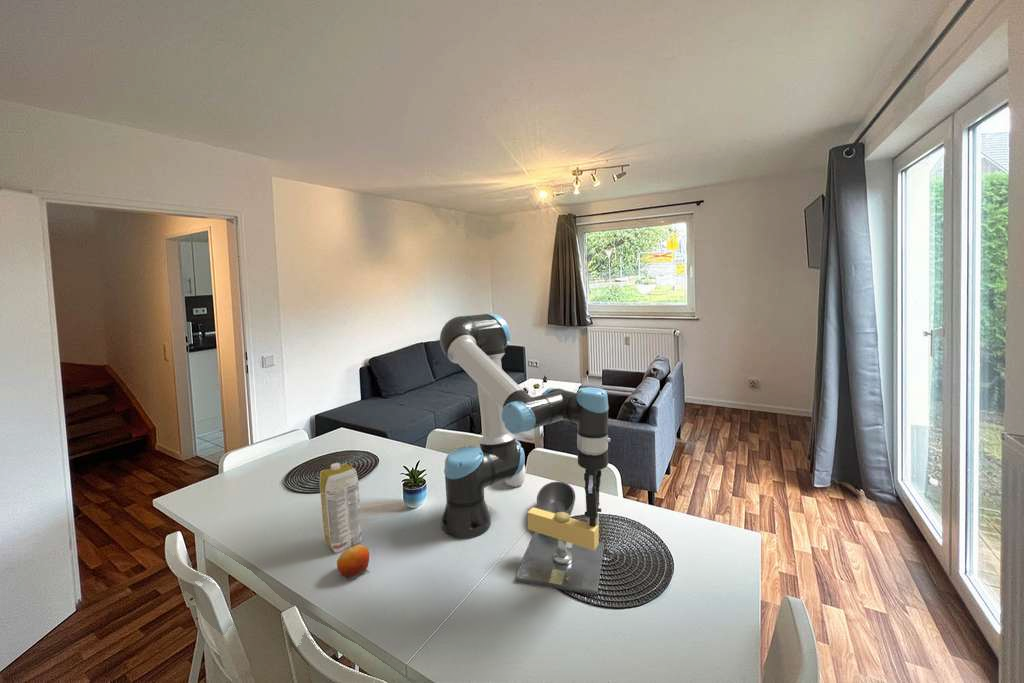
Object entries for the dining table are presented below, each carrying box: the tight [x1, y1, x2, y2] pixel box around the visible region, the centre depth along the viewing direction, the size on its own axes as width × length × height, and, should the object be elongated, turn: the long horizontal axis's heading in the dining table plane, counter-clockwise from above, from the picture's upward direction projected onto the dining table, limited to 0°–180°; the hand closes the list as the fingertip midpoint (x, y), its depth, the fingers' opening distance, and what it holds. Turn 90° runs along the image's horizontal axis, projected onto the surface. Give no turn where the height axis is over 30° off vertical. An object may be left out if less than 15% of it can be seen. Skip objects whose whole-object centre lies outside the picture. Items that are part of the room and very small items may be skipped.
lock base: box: [515, 532, 605, 597], centre depth 114 cm, size 20×20×7 cm
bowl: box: [536, 481, 576, 516], centre depth 138 cm, size 12×22×6 cm, turn 169°
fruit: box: [336, 544, 370, 580], centre depth 112 cm, size 8×8×8 cm
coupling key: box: [527, 506, 600, 550], centre depth 113 cm, size 19×4×6 cm, turn 58°
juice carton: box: [319, 462, 363, 554], centre depth 124 cm, size 9×8×24 cm
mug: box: [503, 464, 526, 488], centre depth 160 cm, size 12×8×8 cm
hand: (593, 537), depth 111 cm, fingers closed
